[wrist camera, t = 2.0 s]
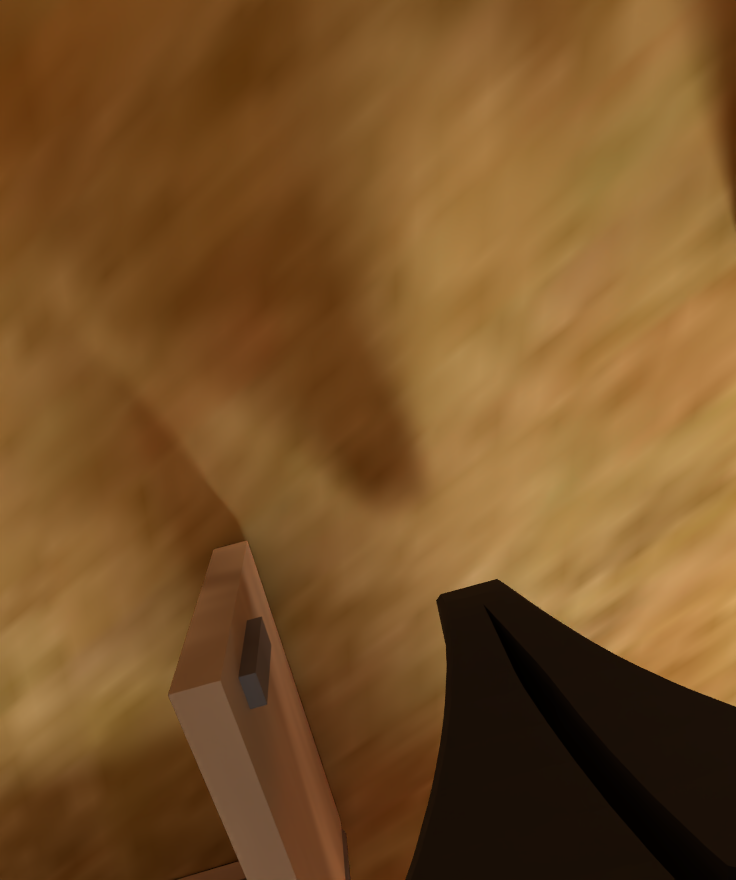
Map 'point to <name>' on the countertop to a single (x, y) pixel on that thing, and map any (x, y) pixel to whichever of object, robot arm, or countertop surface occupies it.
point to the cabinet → (220, 873)
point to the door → (254, 731)
